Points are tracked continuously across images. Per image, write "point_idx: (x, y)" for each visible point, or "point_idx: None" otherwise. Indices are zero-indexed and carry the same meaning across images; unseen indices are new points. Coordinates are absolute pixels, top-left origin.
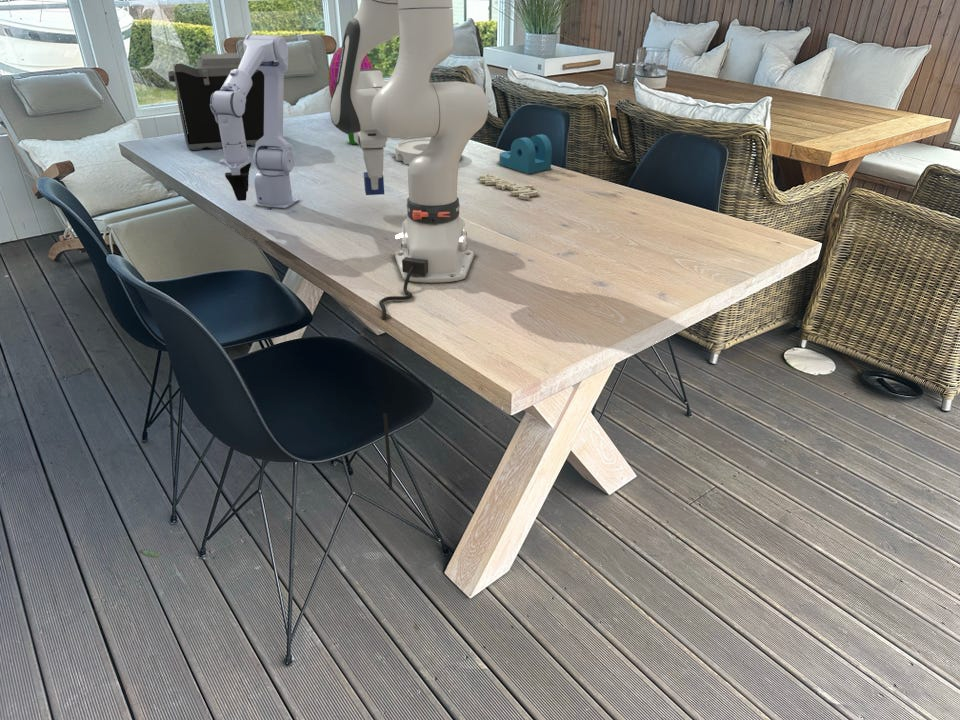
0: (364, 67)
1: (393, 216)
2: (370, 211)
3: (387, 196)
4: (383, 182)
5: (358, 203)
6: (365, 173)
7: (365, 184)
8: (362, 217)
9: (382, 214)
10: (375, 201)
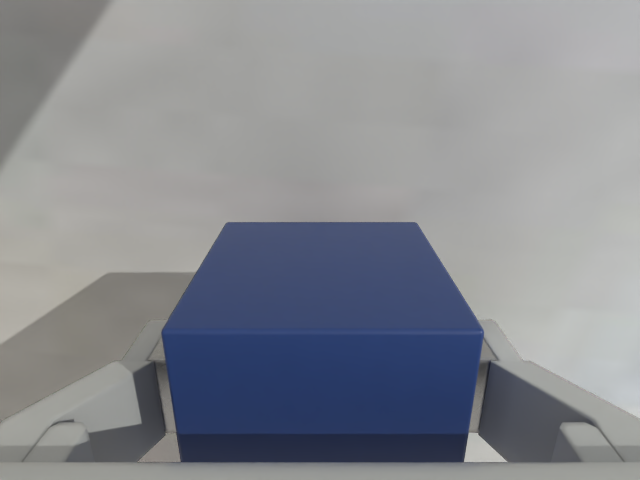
0: None
1: None
2: (333, 199)
3: (635, 335)
4: None
5: (554, 122)
6: (397, 355)
7: (197, 274)
8: (202, 131)
9: None
10: (555, 251)
